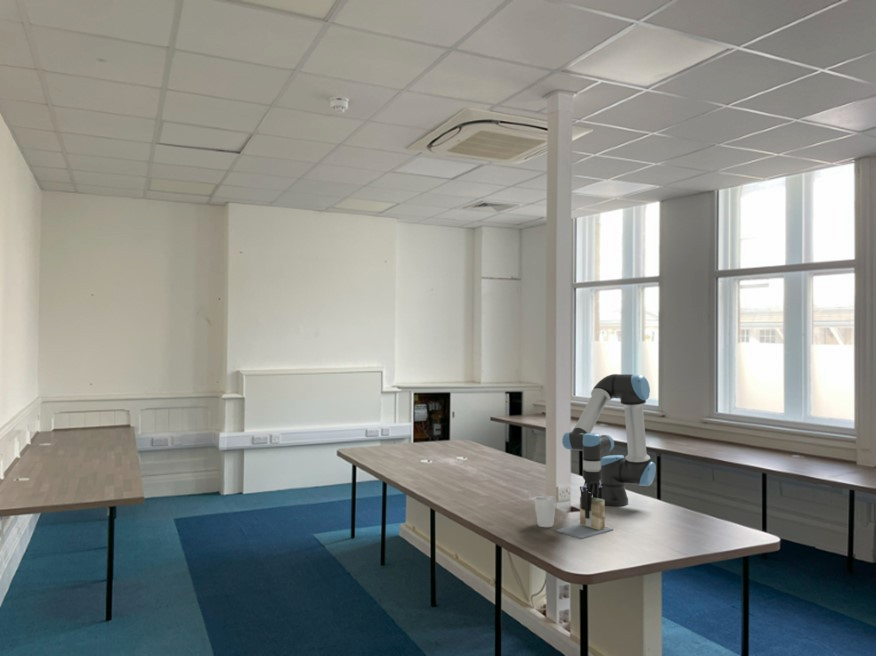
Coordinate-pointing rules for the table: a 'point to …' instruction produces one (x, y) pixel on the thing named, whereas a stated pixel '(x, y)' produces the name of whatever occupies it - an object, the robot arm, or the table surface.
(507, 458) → the table surface
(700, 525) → the table surface
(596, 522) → the slab
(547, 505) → the white tapered cylinder
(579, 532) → the mat
